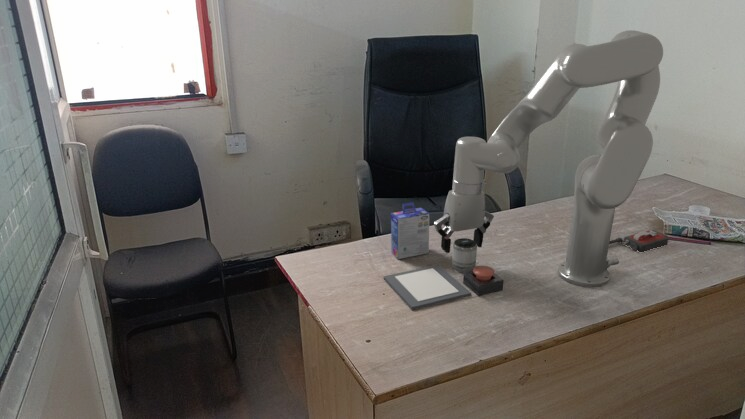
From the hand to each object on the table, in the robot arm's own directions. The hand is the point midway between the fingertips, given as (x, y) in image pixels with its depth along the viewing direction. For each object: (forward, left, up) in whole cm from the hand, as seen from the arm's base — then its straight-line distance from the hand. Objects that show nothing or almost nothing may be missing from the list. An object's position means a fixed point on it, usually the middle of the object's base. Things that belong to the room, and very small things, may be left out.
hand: (461, 248), depth 141 cm
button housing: (0, +11, -6) cm, 12 cm away
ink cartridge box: (+8, -14, -6) cm, 17 cm away
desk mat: (+13, +5, -6) cm, 15 cm away
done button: (0, +11, -4) cm, 12 cm away
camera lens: (-1, 0, -6) cm, 6 cm away
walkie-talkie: (-53, +9, -6) cm, 54 cm away
